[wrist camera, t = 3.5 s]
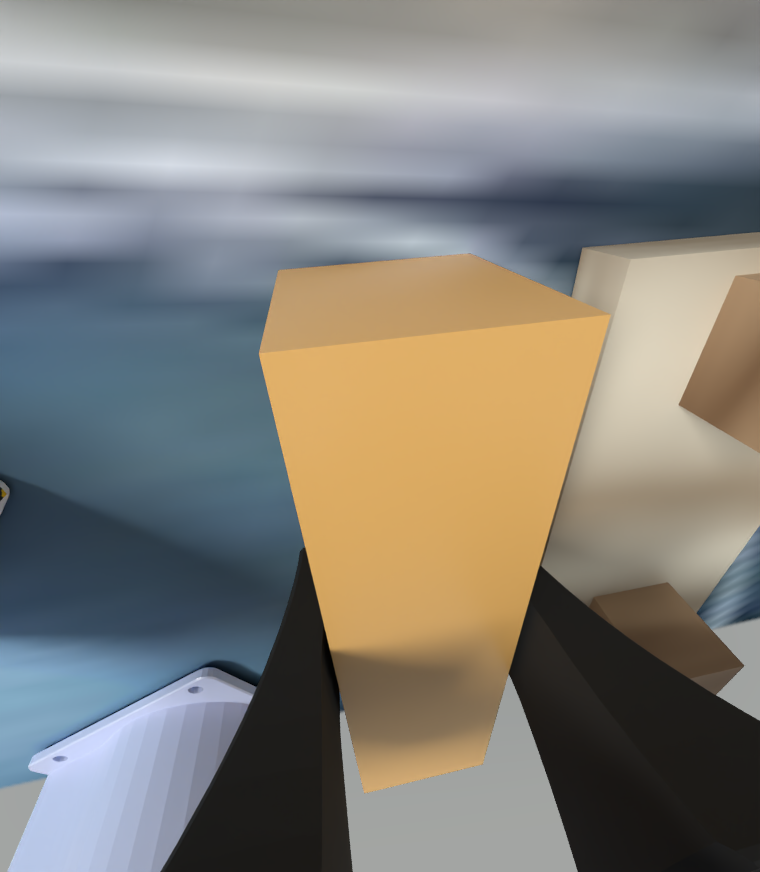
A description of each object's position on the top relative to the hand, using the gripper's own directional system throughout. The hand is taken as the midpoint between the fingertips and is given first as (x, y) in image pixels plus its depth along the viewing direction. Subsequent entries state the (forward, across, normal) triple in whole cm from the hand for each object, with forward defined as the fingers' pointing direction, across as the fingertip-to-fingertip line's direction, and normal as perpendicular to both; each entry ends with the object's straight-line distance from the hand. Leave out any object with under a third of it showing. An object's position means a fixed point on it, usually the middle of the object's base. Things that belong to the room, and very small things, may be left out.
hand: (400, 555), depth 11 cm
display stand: (+1, -9, 0) cm, 9 cm away
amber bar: (+1, 0, 0) cm, 1 cm away
